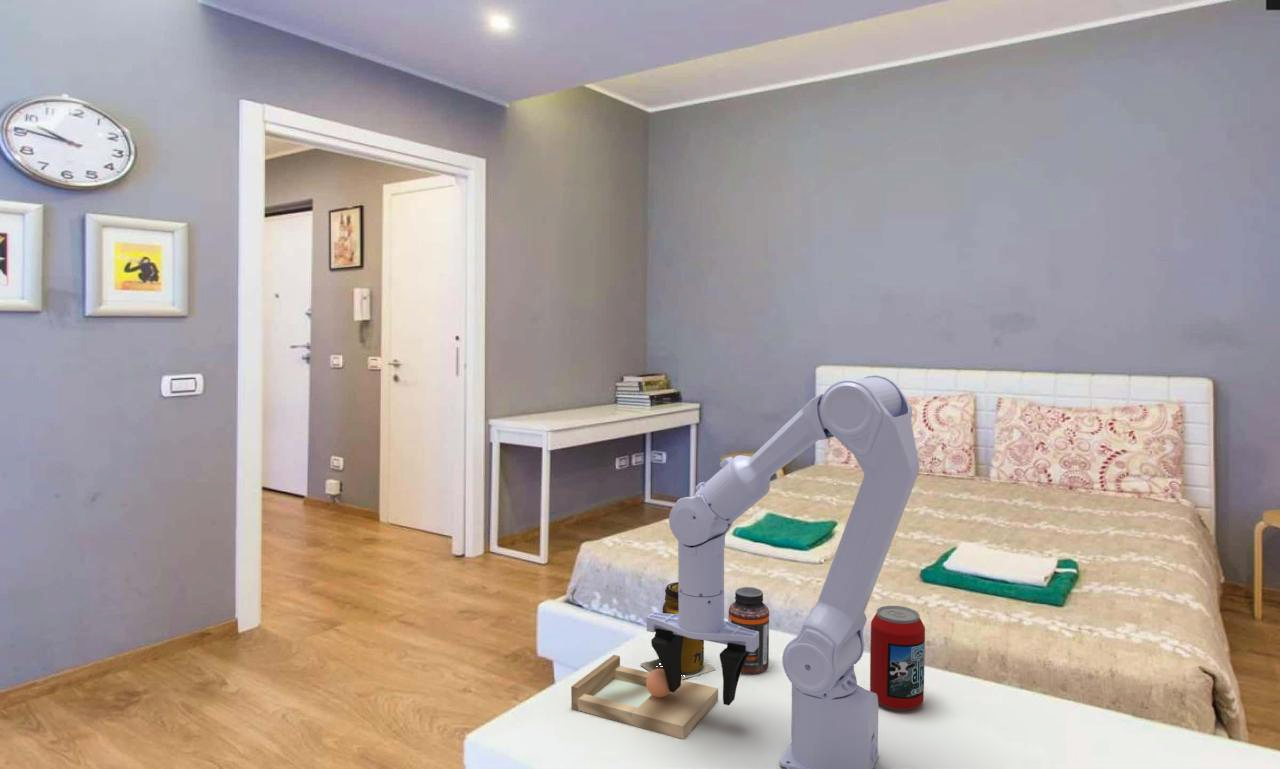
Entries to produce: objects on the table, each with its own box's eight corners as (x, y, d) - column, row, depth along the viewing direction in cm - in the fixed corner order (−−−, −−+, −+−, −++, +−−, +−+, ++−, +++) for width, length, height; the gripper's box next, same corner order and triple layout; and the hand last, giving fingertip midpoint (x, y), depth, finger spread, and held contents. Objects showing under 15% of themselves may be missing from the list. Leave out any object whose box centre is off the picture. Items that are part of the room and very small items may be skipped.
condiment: (716, 669, 111) (716, 588, 110) (668, 685, 106) (668, 600, 105) (686, 652, 117) (685, 575, 116) (639, 666, 112) (639, 586, 111)
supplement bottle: (724, 672, 110) (724, 595, 109) (731, 656, 115) (731, 582, 115) (766, 678, 108) (766, 599, 107) (771, 660, 114) (771, 586, 113)
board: (718, 700, 102) (718, 678, 101) (683, 739, 92) (683, 714, 92) (614, 675, 109) (613, 654, 109) (571, 708, 99) (571, 686, 99)
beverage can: (905, 719, 96) (907, 626, 95) (859, 700, 101) (860, 611, 101) (933, 703, 100) (935, 613, 100) (888, 684, 106) (889, 600, 105)
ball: (677, 693, 100) (677, 668, 100) (665, 705, 97) (666, 678, 97) (653, 687, 102) (654, 661, 101) (641, 698, 99) (641, 672, 98)
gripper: (767, 588, 96) (766, 694, 97) (663, 572, 103) (664, 670, 103) (747, 606, 89) (747, 719, 90) (638, 588, 96) (639, 692, 97)
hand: (701, 695), depth 96 cm, fingers open, 7 cm apart
